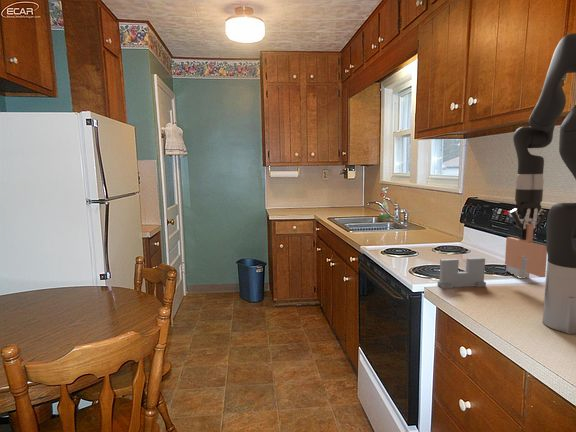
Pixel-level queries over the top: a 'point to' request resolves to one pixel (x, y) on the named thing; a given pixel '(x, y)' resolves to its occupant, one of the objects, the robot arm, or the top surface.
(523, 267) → the medicine box
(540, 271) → the terracotta plate
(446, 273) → the grey notched panel
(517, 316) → the top surface
